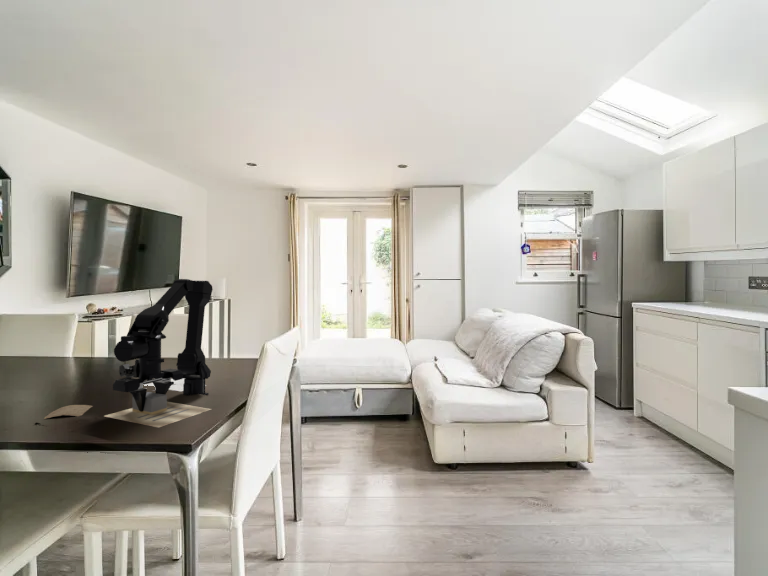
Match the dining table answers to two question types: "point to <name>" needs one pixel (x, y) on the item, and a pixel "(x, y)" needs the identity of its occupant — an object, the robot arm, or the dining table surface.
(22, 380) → the dining table surface
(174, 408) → the plywood board
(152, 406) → the block
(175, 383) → the paper sheet
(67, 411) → the clay tablet
